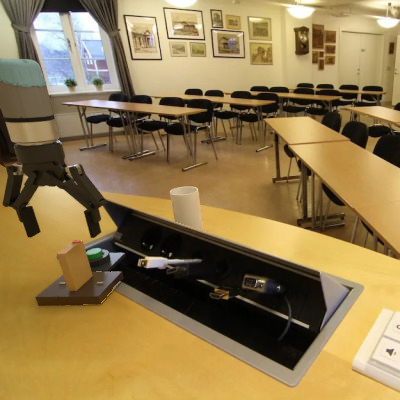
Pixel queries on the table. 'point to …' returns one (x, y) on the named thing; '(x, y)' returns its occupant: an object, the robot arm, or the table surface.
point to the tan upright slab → (75, 265)
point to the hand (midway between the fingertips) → (65, 235)
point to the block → (106, 261)
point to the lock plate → (80, 290)
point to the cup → (187, 206)
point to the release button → (94, 253)
